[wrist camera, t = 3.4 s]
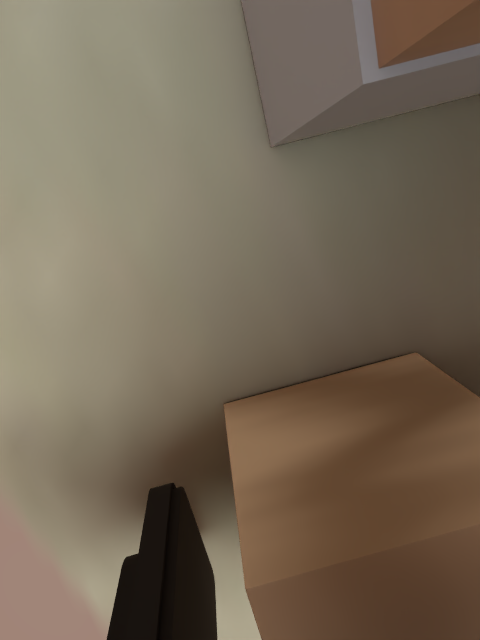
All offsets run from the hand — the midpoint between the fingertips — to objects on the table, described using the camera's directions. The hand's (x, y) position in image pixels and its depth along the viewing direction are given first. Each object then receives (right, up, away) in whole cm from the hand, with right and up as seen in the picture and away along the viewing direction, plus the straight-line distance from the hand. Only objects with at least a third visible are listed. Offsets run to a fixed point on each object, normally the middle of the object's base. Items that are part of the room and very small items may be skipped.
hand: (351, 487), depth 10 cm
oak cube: (0, 0, +1) cm, 1 cm away
